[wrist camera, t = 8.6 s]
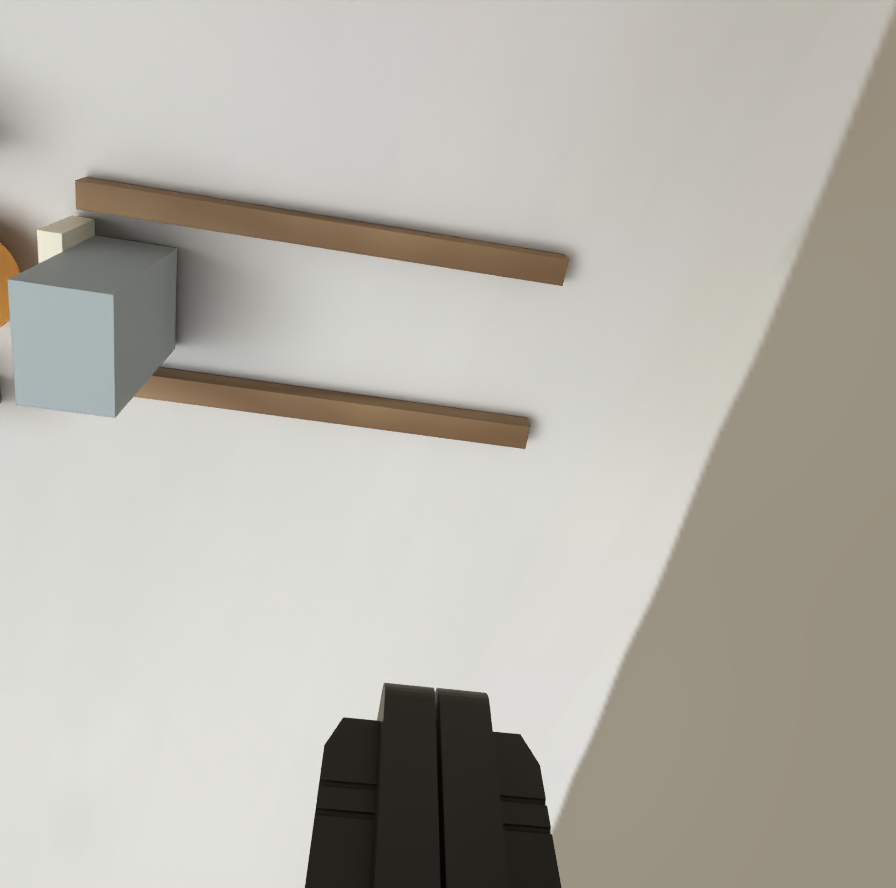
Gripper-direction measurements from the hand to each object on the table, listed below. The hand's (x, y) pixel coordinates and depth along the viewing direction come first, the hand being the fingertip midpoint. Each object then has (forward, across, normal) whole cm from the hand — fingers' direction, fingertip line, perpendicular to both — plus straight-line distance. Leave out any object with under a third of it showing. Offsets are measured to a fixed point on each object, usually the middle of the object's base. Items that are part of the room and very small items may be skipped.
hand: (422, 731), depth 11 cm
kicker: (+22, +11, +1) cm, 24 cm away
